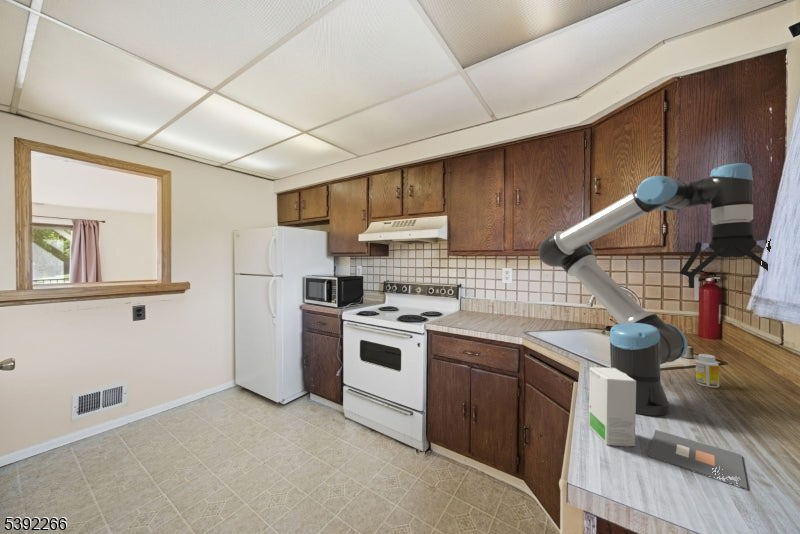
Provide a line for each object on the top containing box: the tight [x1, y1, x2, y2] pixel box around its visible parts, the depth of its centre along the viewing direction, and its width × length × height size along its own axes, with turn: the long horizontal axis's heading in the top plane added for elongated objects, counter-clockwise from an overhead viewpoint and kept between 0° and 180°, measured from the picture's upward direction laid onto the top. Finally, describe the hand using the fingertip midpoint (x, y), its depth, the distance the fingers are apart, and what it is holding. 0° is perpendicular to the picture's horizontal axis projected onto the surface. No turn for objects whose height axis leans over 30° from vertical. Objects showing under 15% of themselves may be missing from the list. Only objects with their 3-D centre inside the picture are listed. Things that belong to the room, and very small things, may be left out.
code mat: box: [647, 429, 749, 491], centre depth 63 cm, size 14×14×1 cm
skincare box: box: [588, 366, 637, 447], centre depth 71 cm, size 8×7×16 cm
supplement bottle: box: [695, 353, 720, 389], centre depth 101 cm, size 6×6×10 cm
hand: (732, 302), depth 79 cm, fingers open, 13 cm apart
